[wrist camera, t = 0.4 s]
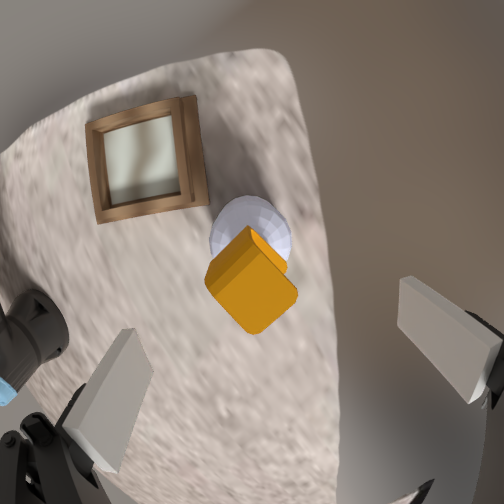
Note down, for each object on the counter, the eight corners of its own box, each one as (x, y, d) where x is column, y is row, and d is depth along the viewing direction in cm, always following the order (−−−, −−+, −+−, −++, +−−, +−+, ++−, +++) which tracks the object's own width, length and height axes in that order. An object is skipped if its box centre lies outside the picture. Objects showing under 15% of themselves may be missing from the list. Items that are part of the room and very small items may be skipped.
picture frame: (100, 223, 38) (88, 228, 34) (88, 126, 34) (75, 123, 30) (209, 203, 38) (206, 206, 34) (196, 96, 34) (191, 88, 30)
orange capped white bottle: (248, 269, 41) (258, 383, 17) (204, 226, 39) (151, 300, 15) (292, 227, 40) (361, 298, 16) (248, 181, 38) (259, 188, 14)
